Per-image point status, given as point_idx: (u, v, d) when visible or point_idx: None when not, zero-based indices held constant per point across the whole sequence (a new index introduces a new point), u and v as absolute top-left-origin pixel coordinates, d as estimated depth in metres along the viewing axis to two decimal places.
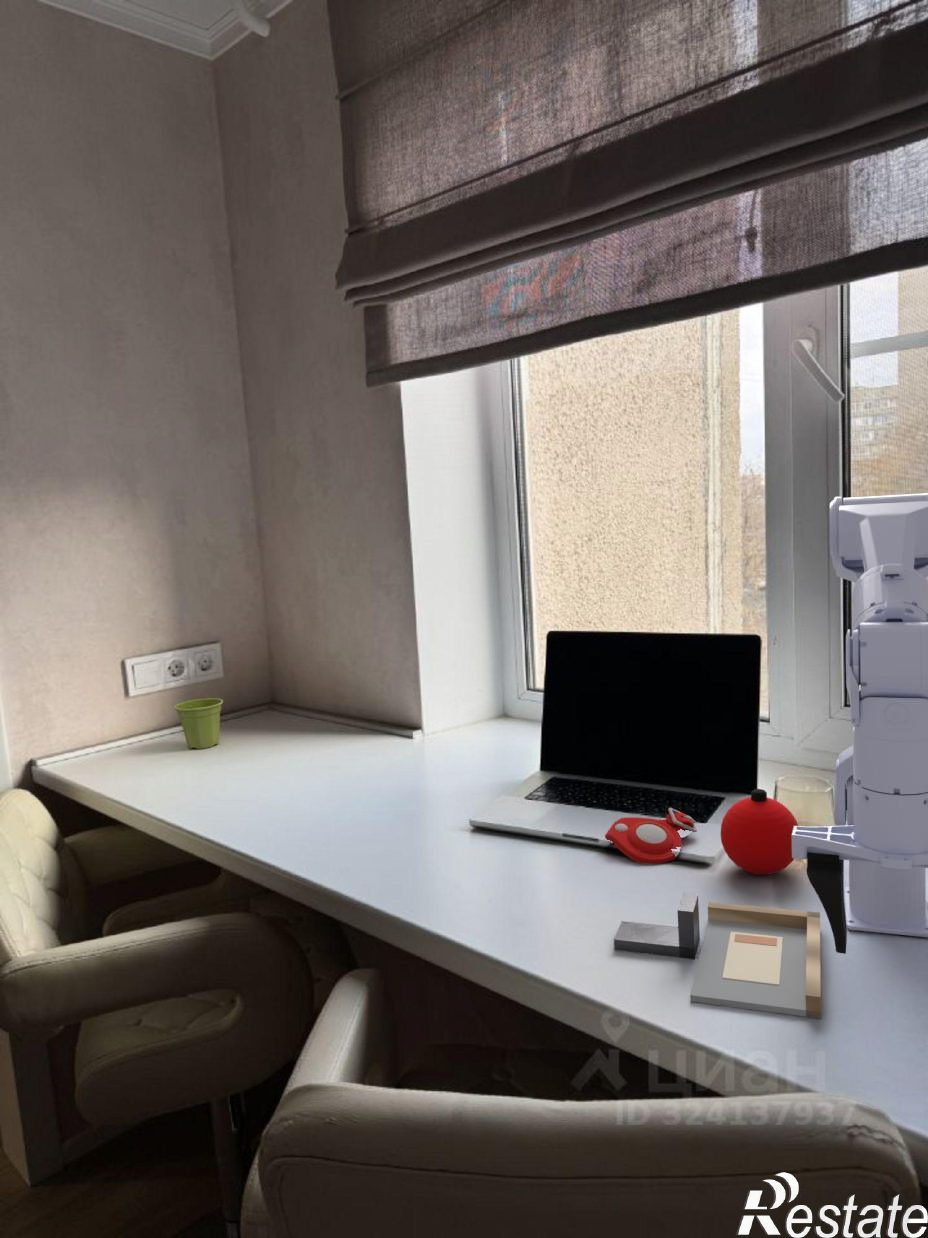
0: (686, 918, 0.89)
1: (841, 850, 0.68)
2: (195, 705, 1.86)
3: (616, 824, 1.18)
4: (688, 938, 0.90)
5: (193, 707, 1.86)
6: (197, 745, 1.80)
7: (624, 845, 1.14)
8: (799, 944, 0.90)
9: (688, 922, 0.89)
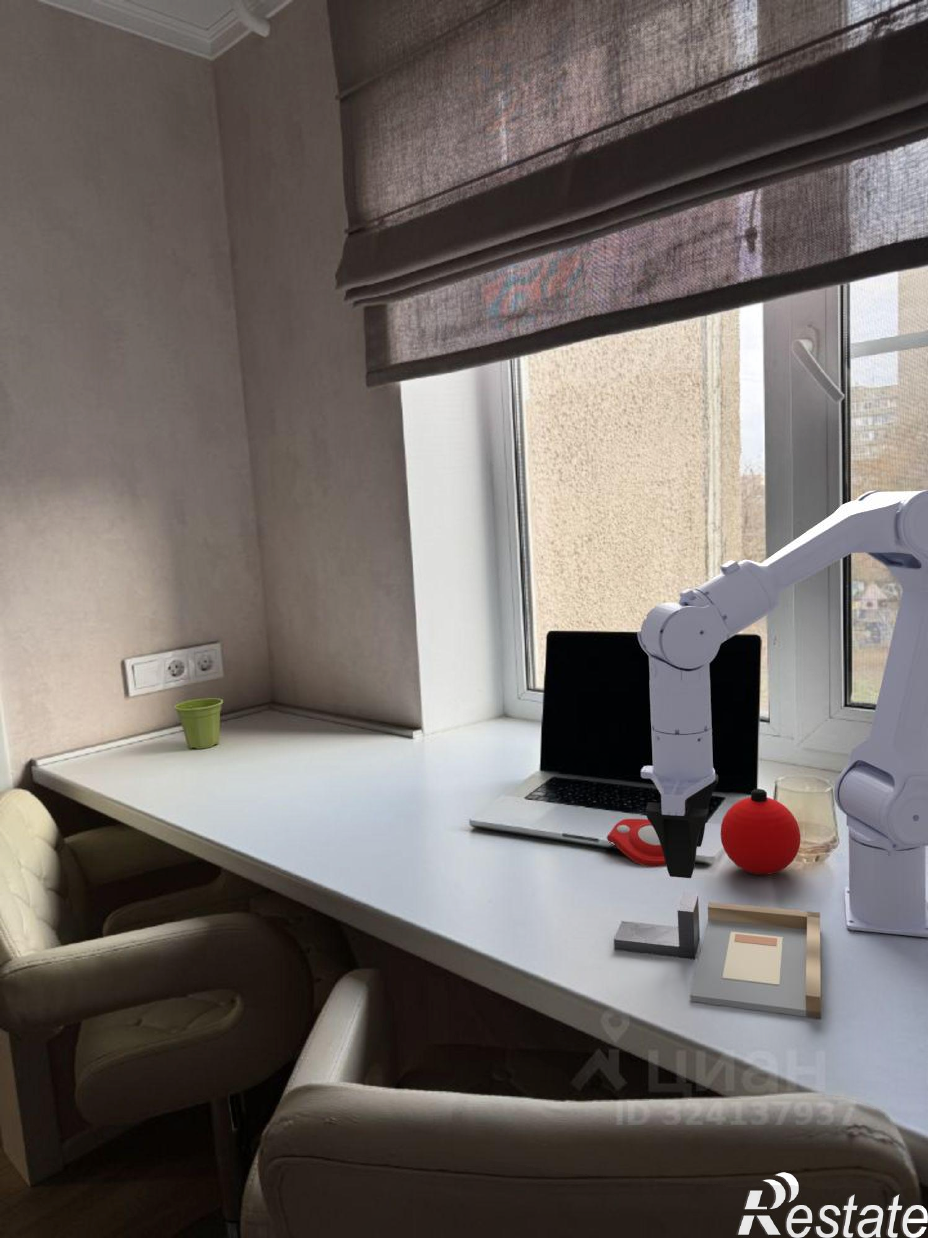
0: (686, 918, 0.89)
1: None
2: (195, 705, 1.86)
3: (618, 825, 1.18)
4: (688, 938, 0.90)
5: (193, 707, 1.86)
6: (197, 745, 1.80)
7: (626, 847, 1.14)
8: (799, 944, 0.90)
9: (688, 922, 0.89)
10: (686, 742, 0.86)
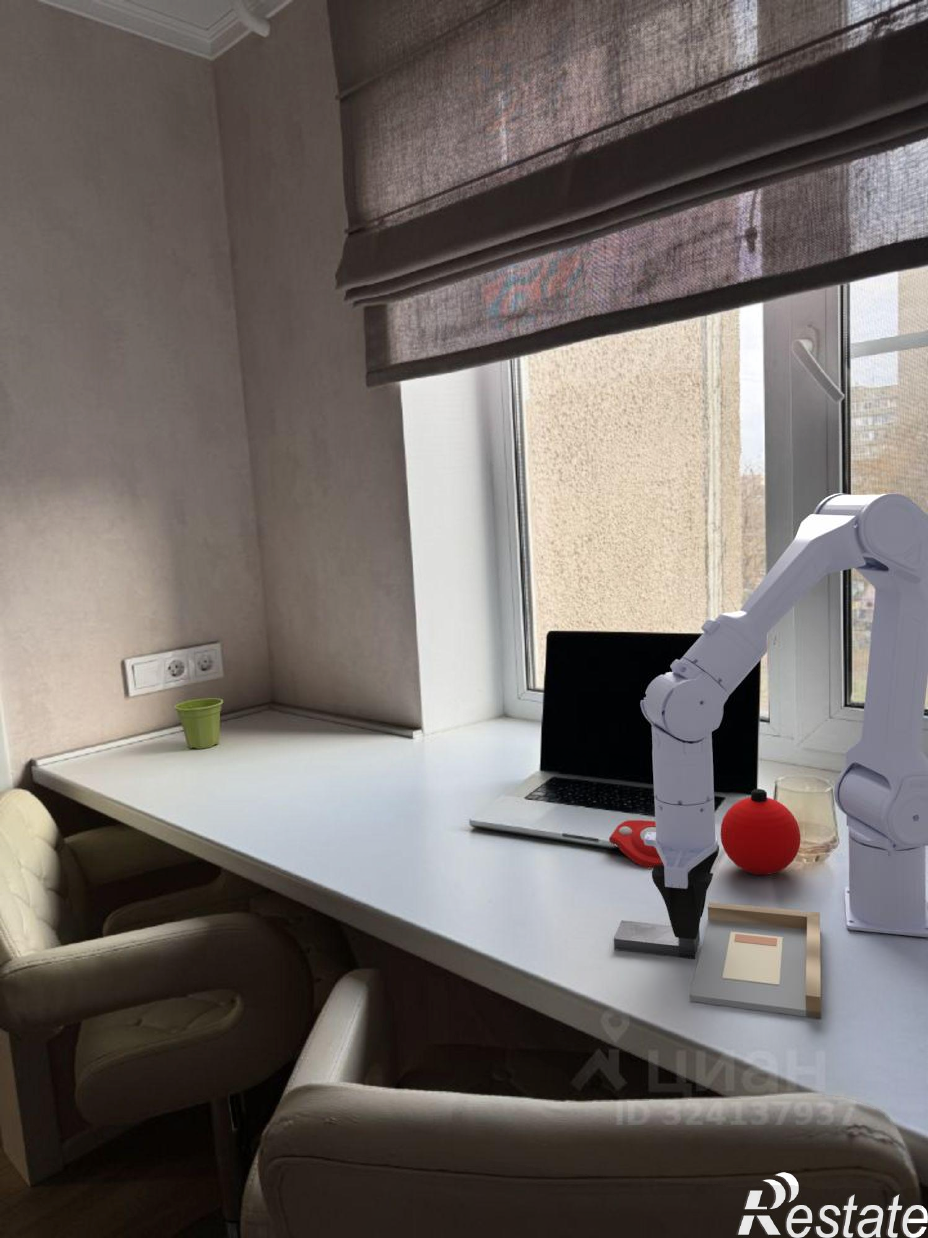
0: None
1: None
2: (195, 705, 1.86)
3: (620, 827, 1.17)
4: None
5: (193, 707, 1.86)
6: (197, 745, 1.80)
7: (628, 848, 1.13)
8: (799, 944, 0.90)
9: None
10: (689, 813, 0.87)
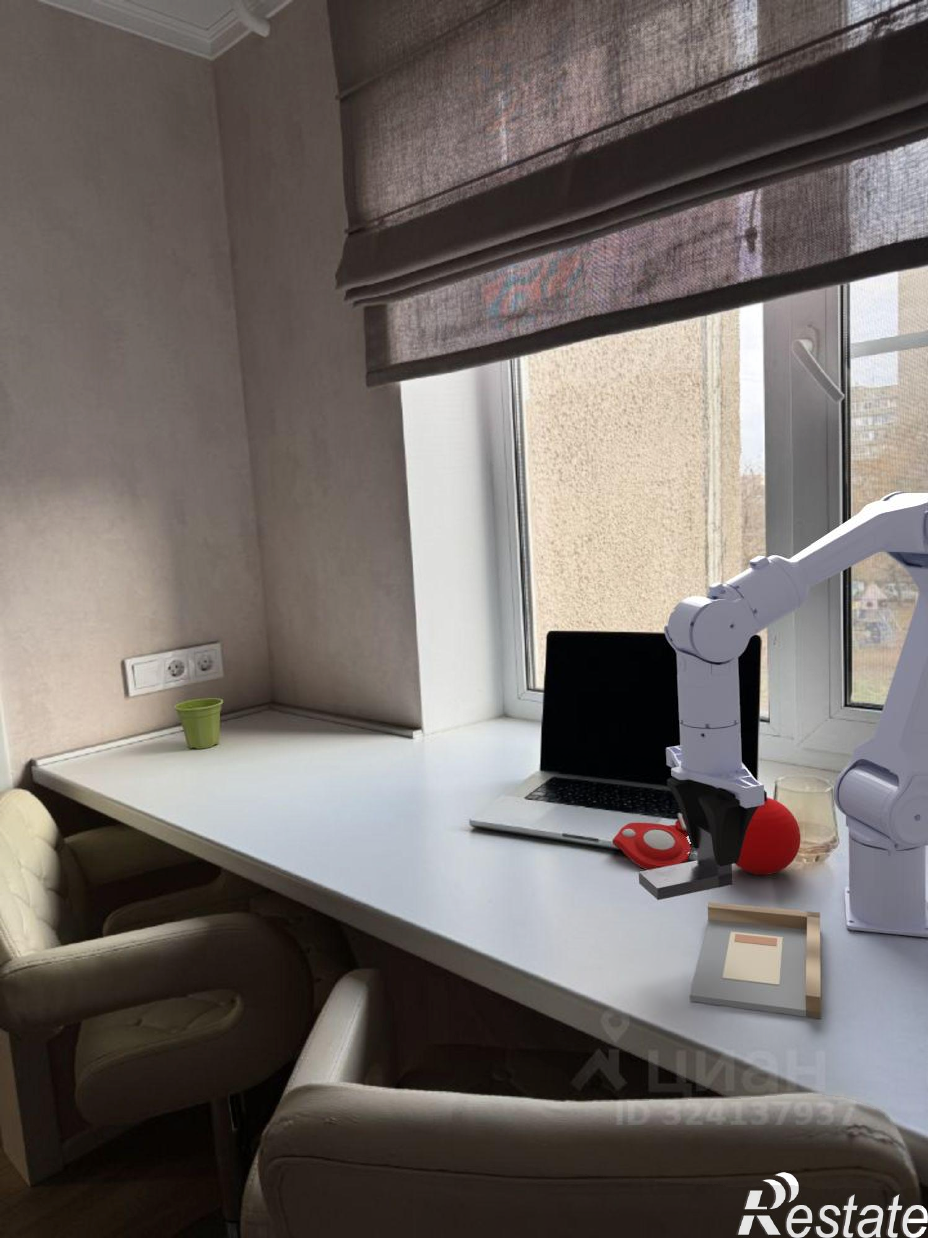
0: None
1: (675, 763, 0.92)
2: (195, 705, 1.86)
3: (624, 829, 1.16)
4: None
5: (193, 706, 1.86)
6: (197, 745, 1.80)
7: (631, 851, 1.12)
8: (799, 944, 0.90)
9: None
10: (733, 733, 0.86)
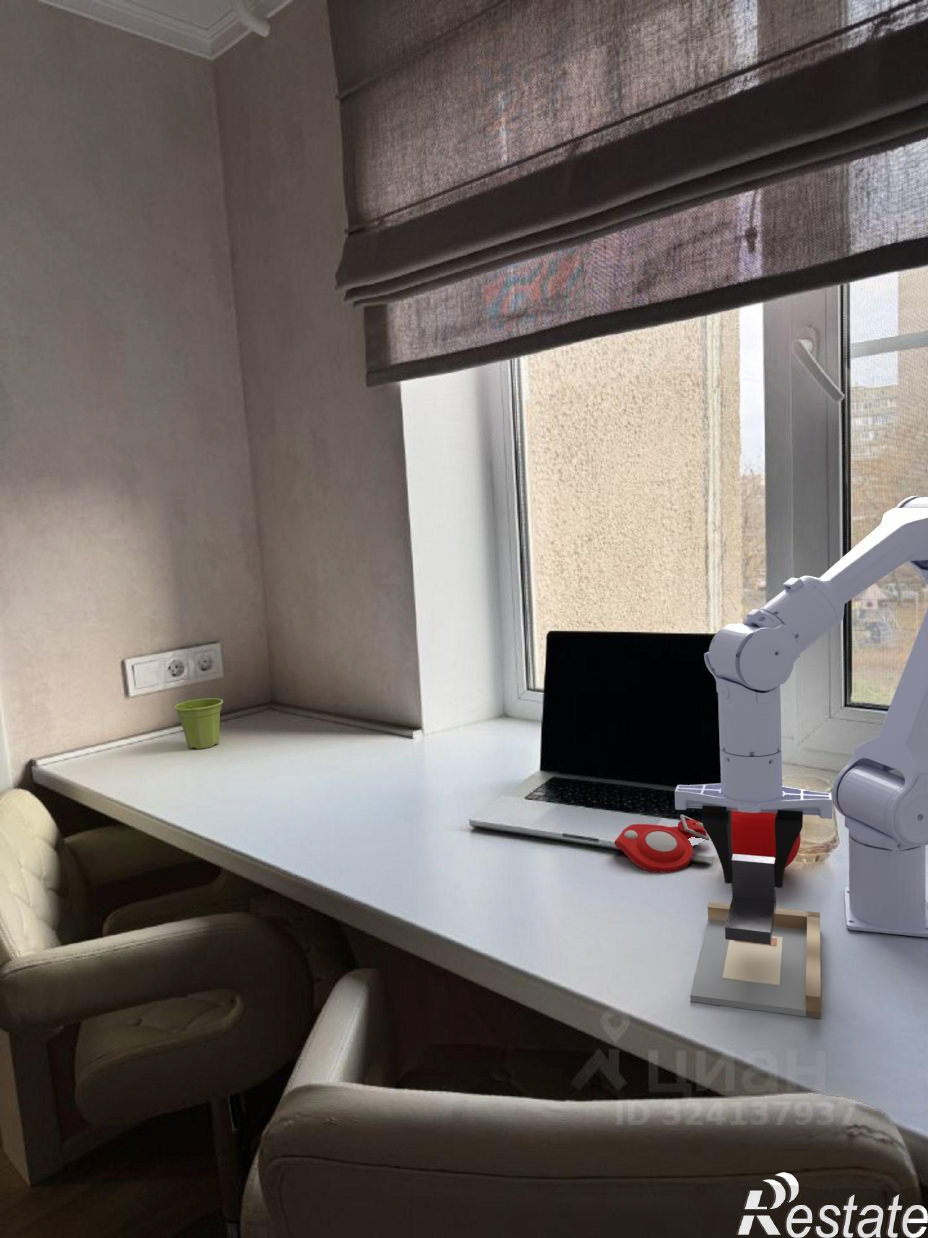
0: (774, 867, 0.89)
1: (710, 801, 0.88)
2: (195, 705, 1.86)
3: (626, 831, 1.16)
4: (775, 887, 0.89)
5: (193, 707, 1.86)
6: (197, 745, 1.80)
7: (633, 852, 1.12)
8: (799, 944, 0.90)
9: None
10: None
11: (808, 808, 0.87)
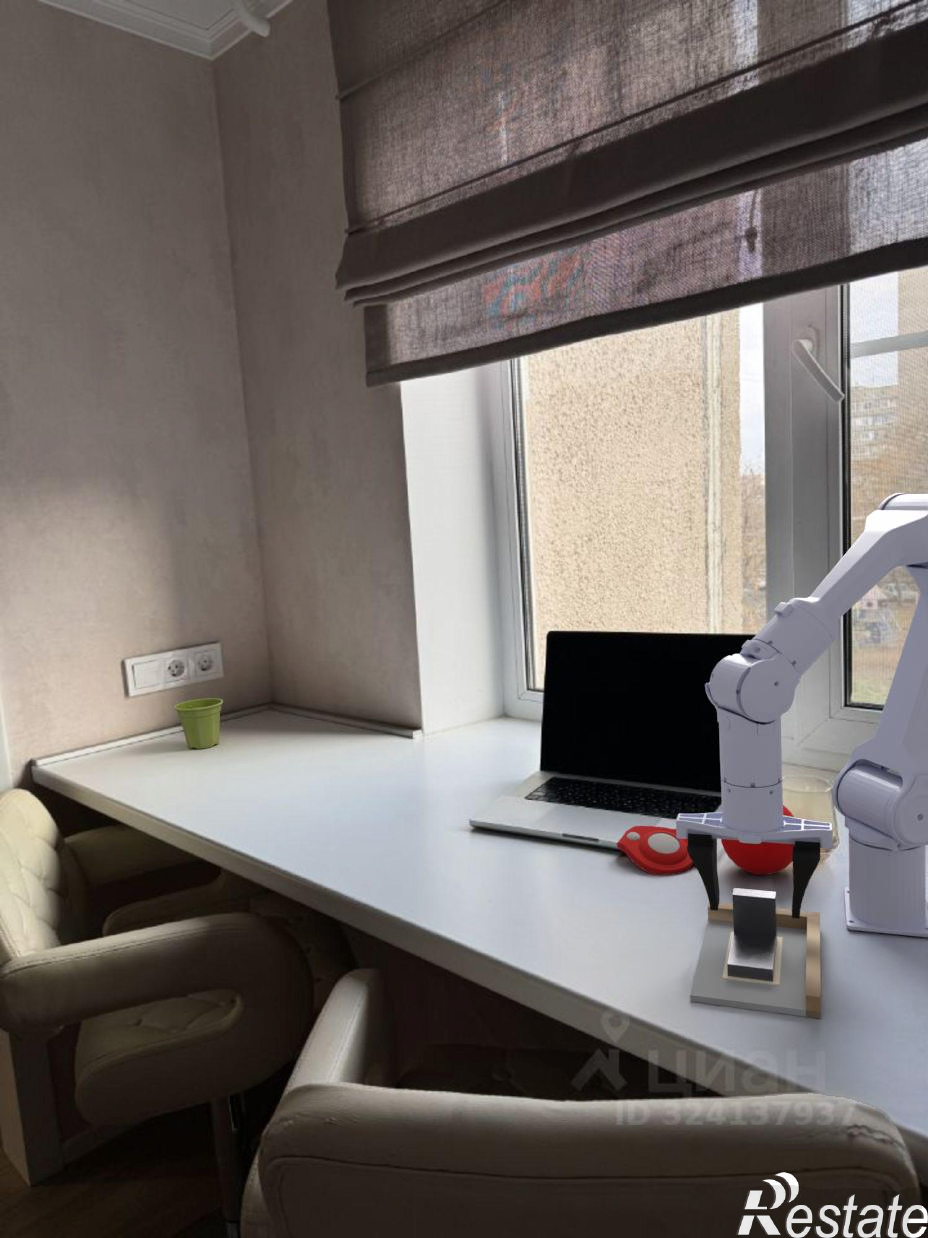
0: (775, 901, 0.90)
1: (711, 831, 0.89)
2: (195, 705, 1.86)
3: (628, 832, 1.15)
4: (776, 921, 0.90)
5: (193, 707, 1.86)
6: (197, 745, 1.80)
7: (635, 854, 1.11)
8: (799, 944, 0.90)
9: None
10: None
11: (809, 838, 0.87)
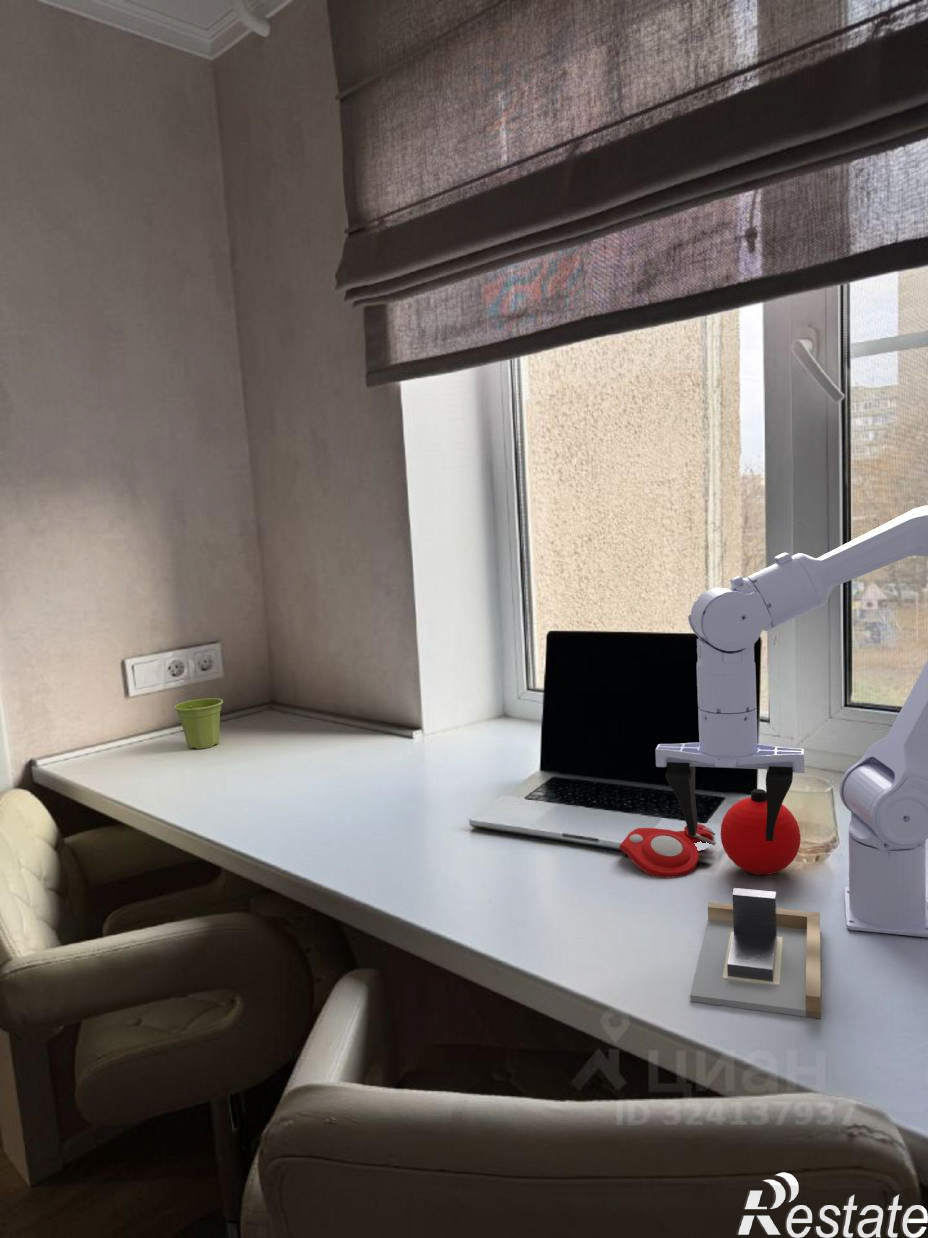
0: (775, 901, 0.90)
1: (689, 758, 0.93)
2: (195, 705, 1.86)
3: (631, 835, 1.14)
4: (776, 921, 0.90)
5: (193, 707, 1.86)
6: (197, 745, 1.80)
7: (637, 857, 1.10)
8: (799, 944, 0.90)
9: None
10: None
11: (782, 763, 0.91)
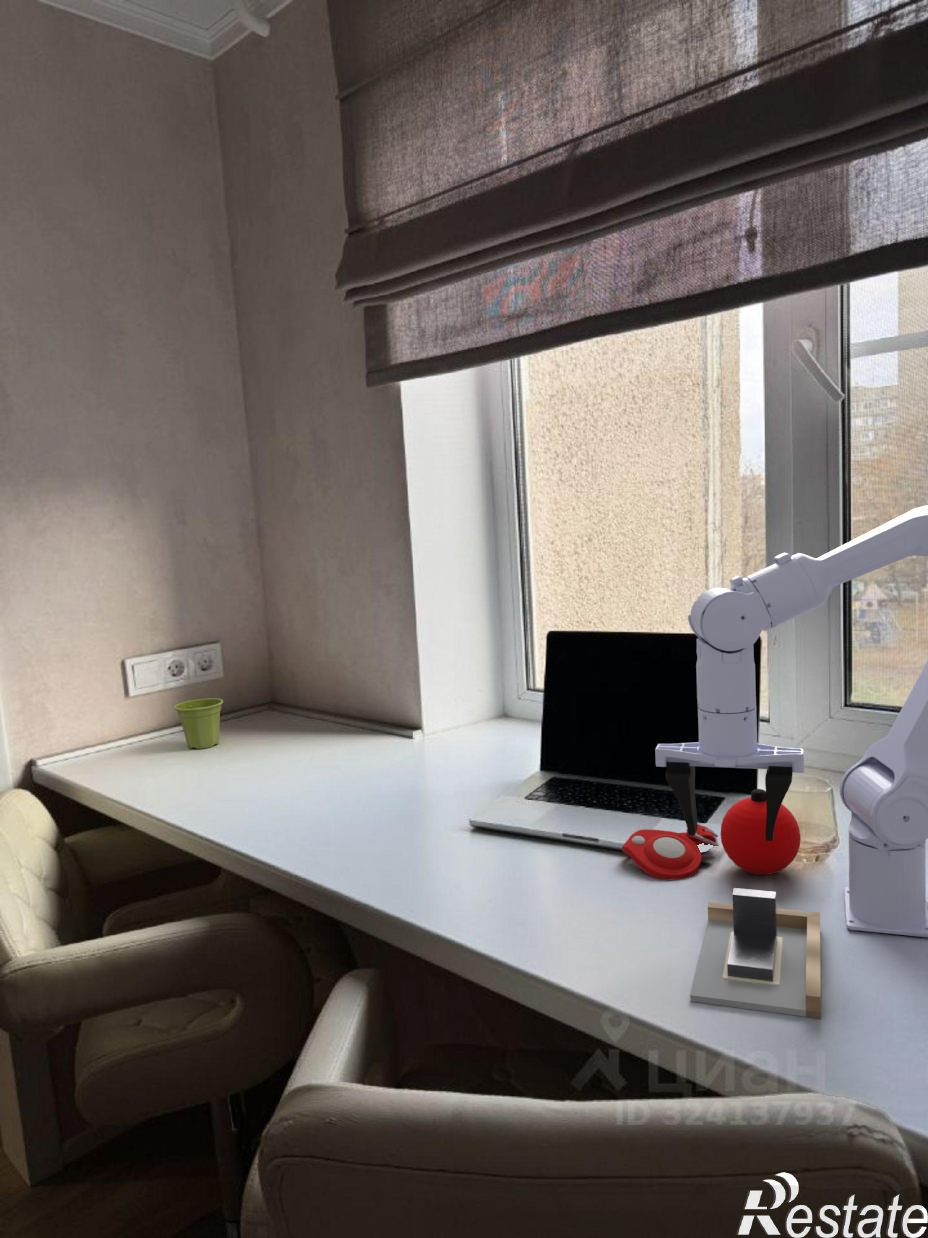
0: (775, 901, 0.90)
1: (689, 758, 0.93)
2: (195, 705, 1.86)
3: (633, 836, 1.14)
4: (776, 921, 0.90)
5: (193, 707, 1.86)
6: (197, 745, 1.80)
7: (640, 859, 1.10)
8: (799, 944, 0.90)
9: None
10: None
11: (781, 763, 0.91)
